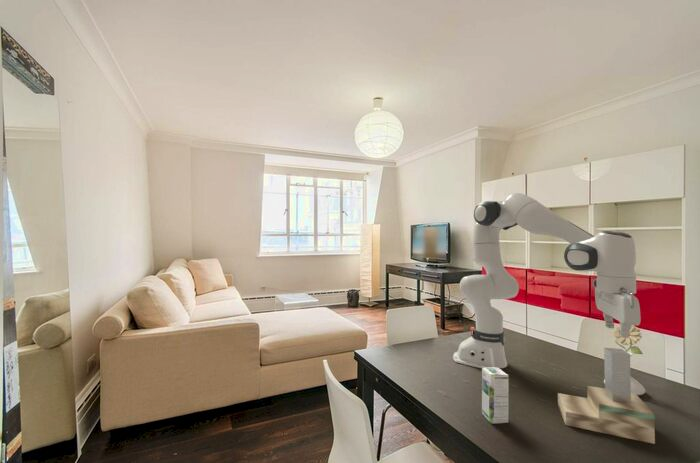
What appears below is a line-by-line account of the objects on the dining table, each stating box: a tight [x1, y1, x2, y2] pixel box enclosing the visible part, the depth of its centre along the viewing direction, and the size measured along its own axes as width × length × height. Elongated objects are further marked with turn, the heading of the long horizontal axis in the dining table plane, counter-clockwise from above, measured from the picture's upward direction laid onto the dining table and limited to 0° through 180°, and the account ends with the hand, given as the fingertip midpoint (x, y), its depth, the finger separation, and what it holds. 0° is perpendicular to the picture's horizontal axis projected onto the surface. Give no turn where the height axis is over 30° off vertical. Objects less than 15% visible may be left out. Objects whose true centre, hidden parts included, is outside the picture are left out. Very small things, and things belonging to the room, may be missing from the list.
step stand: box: [557, 385, 656, 445], centre depth 92 cm, size 20×12×8 cm, turn 65°
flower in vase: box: [603, 324, 646, 396], centre depth 111 cm, size 13×11×25 cm
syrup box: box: [481, 367, 510, 425], centre depth 95 cm, size 6×6×14 cm
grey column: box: [603, 347, 631, 403], centre depth 91 cm, size 4×4×14 cm
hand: (616, 332), depth 92 cm, fingers open, 8 cm apart
